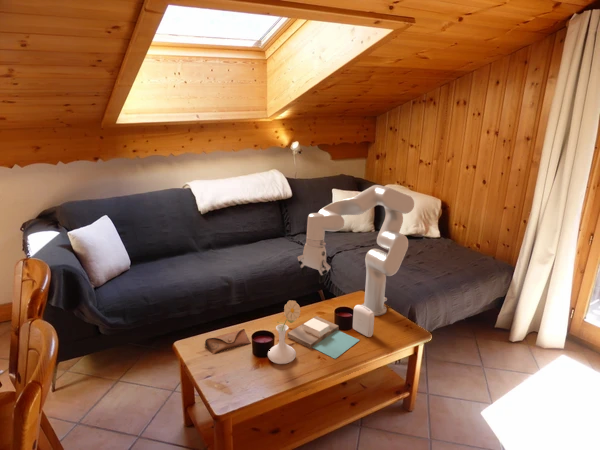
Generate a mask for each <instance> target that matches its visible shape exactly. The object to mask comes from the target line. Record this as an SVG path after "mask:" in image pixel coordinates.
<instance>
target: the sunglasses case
mask: <svg viewBox="0 0 600 450" xmlns="http://www.w3.org/2000/svg"><path fill="white" fill-rule="evenodd" d="M204 344H205V347H206V346H207V347H206V348H207V349H208V350H210V351H209V352H210V354H212V355H217V354H218V353H222V352H224V350H225V351H227V349H228V350H231V349H234V347H235V348H237V347H242V346H245V345H251V344H252V342H251V341H250V339H249V337H248V335H247V333H246V331H245V328H243V329H240V330H236V331H231V332H228V333H225V334H220V335H218V336H214V337H208V338H206V339H205V343H204ZM230 348H231V349H230ZM221 351H222V352H221Z"/></svg>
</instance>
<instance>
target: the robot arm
mask: <svg viewBox="0 0 600 450" xmlns="http://www.w3.org/2000/svg"><path fill="white" fill-rule="evenodd" d="M376 206H382V207H383V208H384V212H385V217H384V220H383V223H382V225H381V228H380V230H379V232H378V234H377V237H376V243H377V245H378V246H380V247H381V248H383V249H385V250H387V251H388V252H386V251H384V250H382V249H379V248H371V249H370V250H368V251H367V252H366V255H365V260H364V261H365V262H364V263H365V270H366V274H365V275H366V276H365V289H364V291H365V292H364V302H363V303H361V305H362V306H365V307H367V308H369V309H370V310H371V311H372V312H373V313H374V317H375V316H376V317H377V316H382V315H385V314H386V313H387V307H386V306H385V302H387V300H388V297H385V294H386V293H385V292H386V283H387V276H388V277H391V276H393V275H396V273H398V271H399V269H400V267H401V265H402V262H403V260H404V259H405V255H406V253H407V251H408V248H409V239H408V238H407V236H406V235H404V233H401V232H400V231H401V228H402V226H403V222H404V215H406V214H410V213H411V212H412V211H413V209H415V200H414V199H413V197H411V195H408V194H405V193H403V192H402V191H401V192H400V191H398V190H396V189H394V188H391V187H387V186H384V185H381V184H373V185H371V186H370V187H368V188H366V189H364V190H363V191H361V192H360V193H358V194H356V195H354V196H353V197H349V198H345V199H341V200H337V201H334V202H333V201H332V202H331V203H329V204H327V205H325V206H324V207H322V208H321V209H320V210H319V211H318V212H311V213H309V214H308V216H307V223H306V224H307V226H306V240H305V244H304V247H303V252H302V254H301V255H298V256H297V260H298V264H299V265H300V267H299V268H301V269H300V270H301V272H300V277H302V278H304V277H306V276H307V273H308V268H312V269H314V270H318V272H319V275H318V284H323V283H324V282H325V278H326V277H325V276H326V274H328V272H330V270H331V268H332V267H331V265H329V263H328V262H327V250H326V244H327V243H326V242H325V235H326V234H325V233H326V232H339V231H340V230H342V229H343V227H344V226H345V220H344V218H343V216H359V215H363V214H364V213H366V212H367V211H369V210H371V209H373V208H375V207H376Z"/></svg>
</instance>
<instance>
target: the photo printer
mask: <svg viewBox="0 0 600 450" xmlns="http://www.w3.org/2000/svg"><path fill="white" fill-rule="evenodd" d="M352 311H353V314H352V329H353V330H355V331H356V332H358V333H359V334H361V335H363V336H366V337H368V338H370V337H372V336H373V335H374V329H375V327H374V326H375V325H374V324H375V316H374V313H373V312H372V311H371V310H370V309H369V308H367V307H365V306H362V304H356V305H355V306H354V307H353V310H352Z"/></svg>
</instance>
